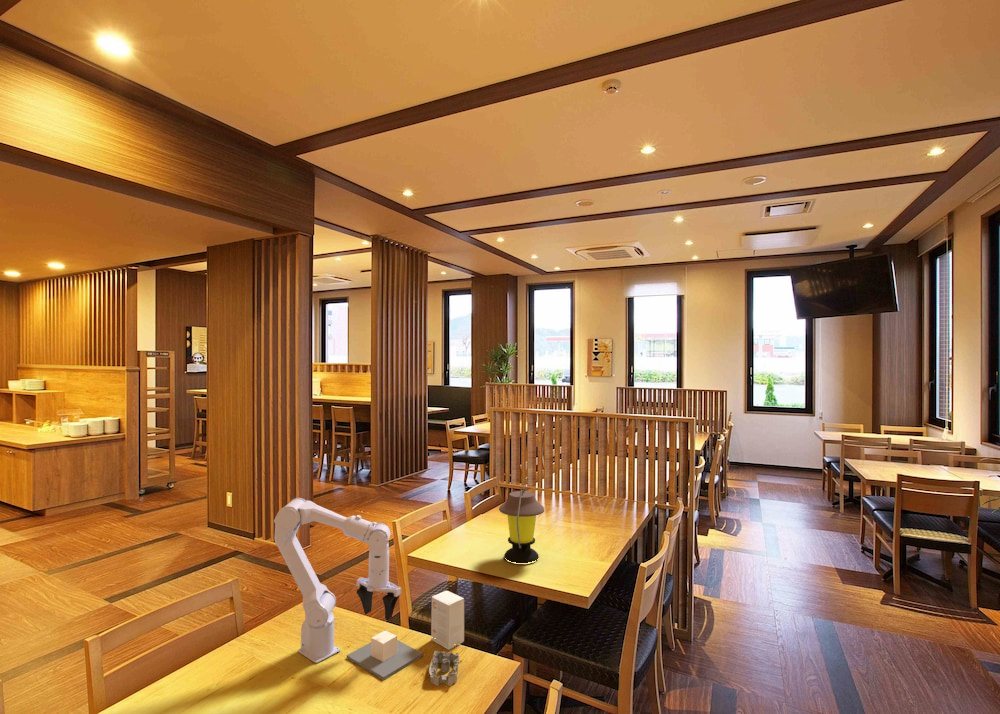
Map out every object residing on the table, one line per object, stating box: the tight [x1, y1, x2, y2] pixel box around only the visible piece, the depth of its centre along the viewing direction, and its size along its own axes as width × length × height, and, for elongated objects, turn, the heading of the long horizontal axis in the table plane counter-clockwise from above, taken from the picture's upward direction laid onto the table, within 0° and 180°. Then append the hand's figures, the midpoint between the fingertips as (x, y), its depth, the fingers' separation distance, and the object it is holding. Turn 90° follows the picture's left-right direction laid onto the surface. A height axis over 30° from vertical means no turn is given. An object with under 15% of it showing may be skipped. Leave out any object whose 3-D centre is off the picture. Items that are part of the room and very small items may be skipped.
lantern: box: [498, 484, 545, 563], centre depth 217 cm, size 25×19×30 cm
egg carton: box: [428, 650, 460, 687], centre depth 137 cm, size 11×8×4 cm
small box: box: [430, 590, 465, 651], centre depth 153 cm, size 8×6×13 cm
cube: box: [370, 630, 398, 662], centre depth 144 cm, size 5×5×5 cm
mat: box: [346, 639, 424, 681], centre depth 144 cm, size 16×14×1 cm
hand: (378, 615), depth 147 cm, fingers open, 7 cm apart
